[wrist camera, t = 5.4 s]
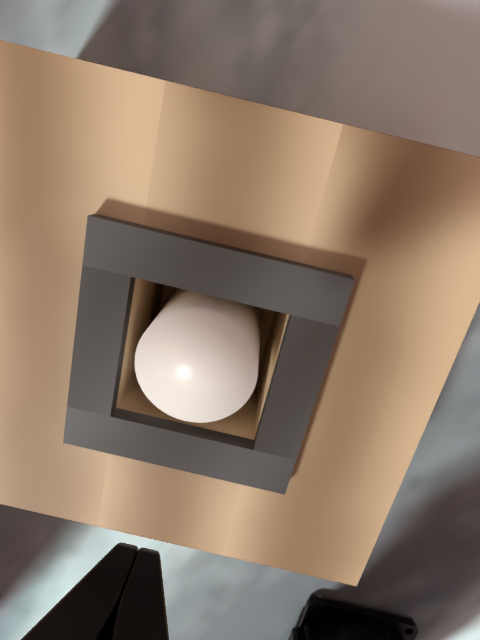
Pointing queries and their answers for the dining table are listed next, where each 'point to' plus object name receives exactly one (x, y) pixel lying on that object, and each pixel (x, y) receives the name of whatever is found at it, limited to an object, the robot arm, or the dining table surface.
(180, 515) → the socket block
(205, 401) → the dowel
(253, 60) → the dining table surface
